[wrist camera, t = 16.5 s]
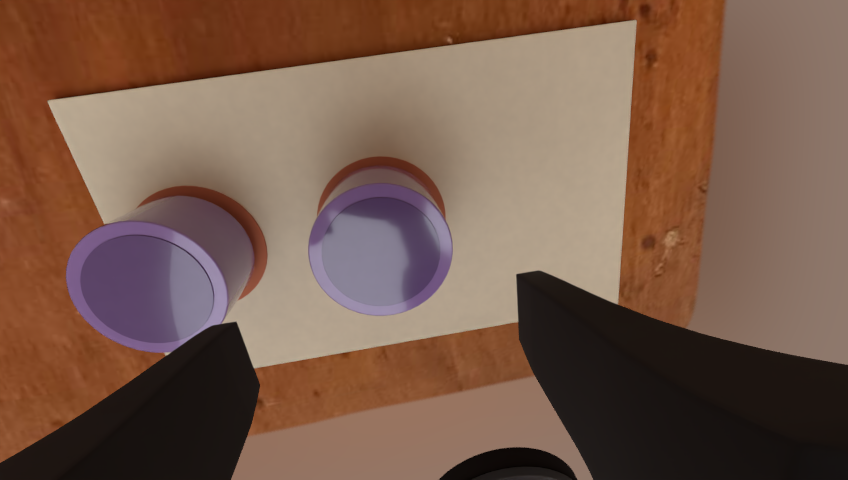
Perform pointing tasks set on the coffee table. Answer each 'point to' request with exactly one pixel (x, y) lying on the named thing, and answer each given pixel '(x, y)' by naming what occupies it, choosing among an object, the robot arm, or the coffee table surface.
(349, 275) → the purple cup
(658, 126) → the coffee table surface
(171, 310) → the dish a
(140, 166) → the mat
